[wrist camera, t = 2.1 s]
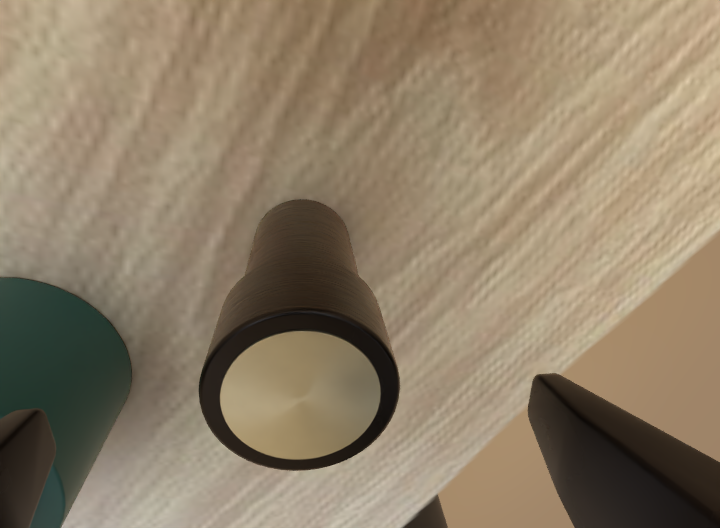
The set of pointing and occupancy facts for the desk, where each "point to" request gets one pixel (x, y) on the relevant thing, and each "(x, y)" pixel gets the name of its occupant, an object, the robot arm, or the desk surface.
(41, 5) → the desk surface
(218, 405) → the flashlight
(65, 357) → the bottle
